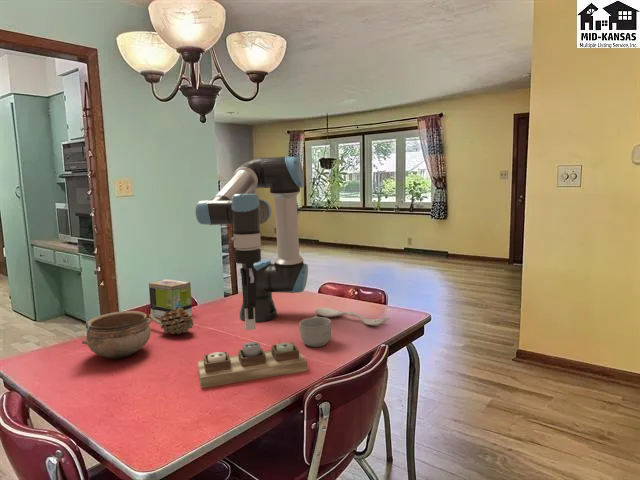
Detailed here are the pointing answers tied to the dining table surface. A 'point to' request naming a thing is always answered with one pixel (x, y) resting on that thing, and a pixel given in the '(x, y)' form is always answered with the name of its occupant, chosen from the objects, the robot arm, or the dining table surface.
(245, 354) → the button three
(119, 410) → the dining table surface
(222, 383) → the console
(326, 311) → the spoon
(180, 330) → the pine cone
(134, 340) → the cooking pot
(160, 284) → the tea box
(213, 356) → the button two
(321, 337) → the teacup
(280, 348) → the button one
